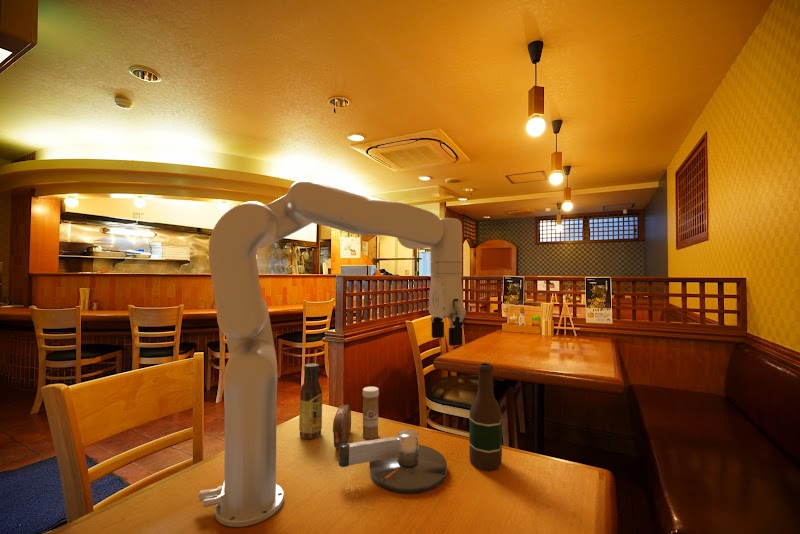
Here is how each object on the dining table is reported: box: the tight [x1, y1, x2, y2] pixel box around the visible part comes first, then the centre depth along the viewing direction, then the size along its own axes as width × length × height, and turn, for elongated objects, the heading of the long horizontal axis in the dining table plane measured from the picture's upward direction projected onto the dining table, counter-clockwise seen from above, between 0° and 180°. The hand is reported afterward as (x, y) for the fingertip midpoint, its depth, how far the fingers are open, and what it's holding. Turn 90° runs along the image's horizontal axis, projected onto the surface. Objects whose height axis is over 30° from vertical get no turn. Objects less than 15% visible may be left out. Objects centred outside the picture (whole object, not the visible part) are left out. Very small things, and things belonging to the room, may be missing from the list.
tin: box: [332, 404, 352, 449], centre depth 99 cm, size 15×3×8 cm, turn 179°
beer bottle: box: [468, 362, 503, 472], centre depth 88 cm, size 8×8×24 cm
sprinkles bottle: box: [362, 386, 380, 440], centre depth 102 cm, size 5×5×13 cm
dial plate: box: [368, 444, 448, 495], centre depth 84 cm, size 18×18×2 cm
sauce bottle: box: [298, 363, 323, 440], centre depth 103 cm, size 6×6×20 cm
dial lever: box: [338, 429, 420, 468], centre depth 82 cm, size 19×5×6 cm, turn 109°
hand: (446, 341), depth 86 cm, fingers open, 9 cm apart
